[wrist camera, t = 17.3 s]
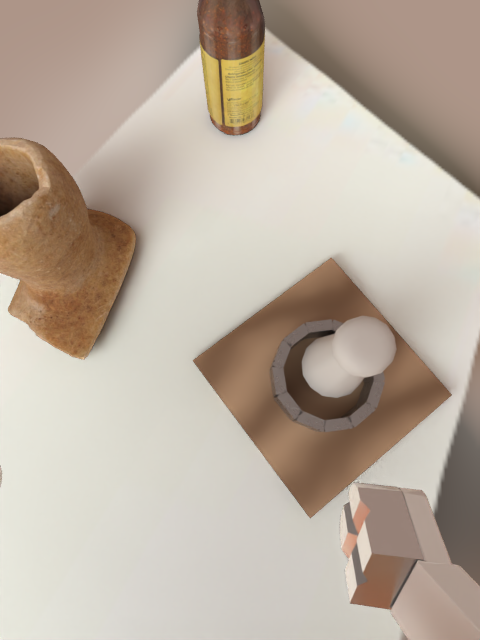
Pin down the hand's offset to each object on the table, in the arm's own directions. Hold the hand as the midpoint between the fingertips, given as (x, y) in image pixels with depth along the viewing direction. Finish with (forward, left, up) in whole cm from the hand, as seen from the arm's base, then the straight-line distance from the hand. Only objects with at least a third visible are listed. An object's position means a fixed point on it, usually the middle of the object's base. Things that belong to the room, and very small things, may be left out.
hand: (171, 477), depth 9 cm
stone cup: (+23, +2, -32) cm, 39 cm away
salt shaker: (-1, -13, -31) cm, 33 cm away
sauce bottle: (+29, -24, -32) cm, 49 cm away
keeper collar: (-1, -12, -31) cm, 33 cm away
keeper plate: (-1, -12, -31) cm, 33 cm away
